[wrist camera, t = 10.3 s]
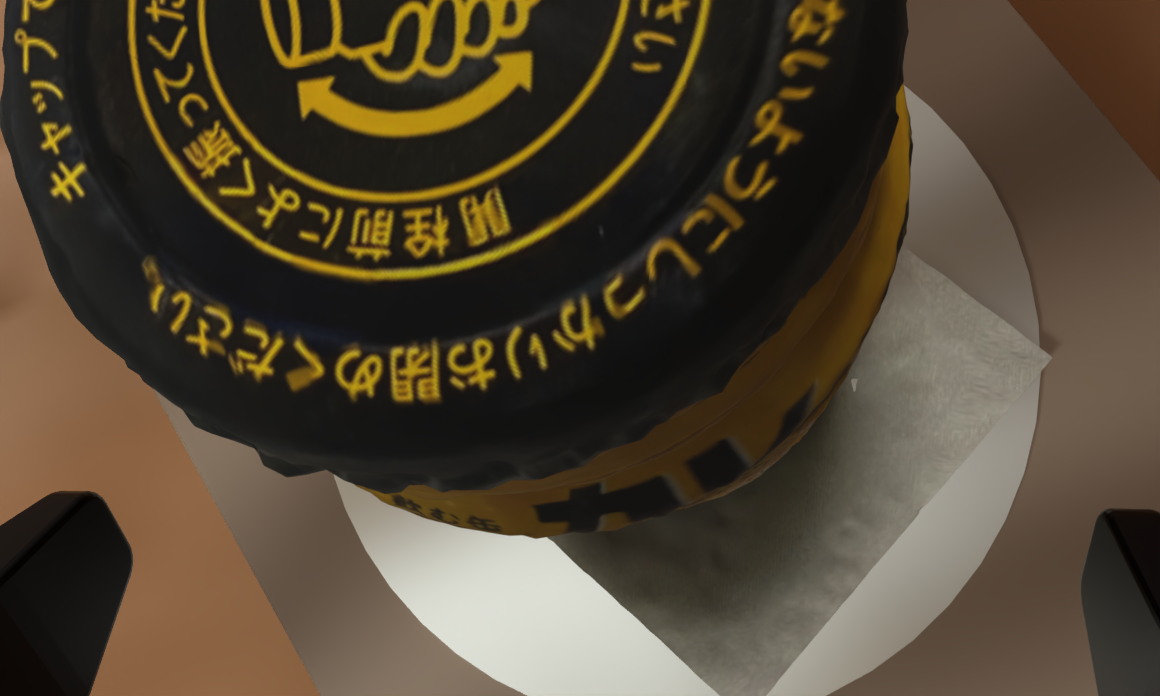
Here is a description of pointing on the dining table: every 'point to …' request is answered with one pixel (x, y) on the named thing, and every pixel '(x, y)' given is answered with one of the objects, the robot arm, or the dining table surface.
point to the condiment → (532, 274)
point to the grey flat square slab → (975, 490)
